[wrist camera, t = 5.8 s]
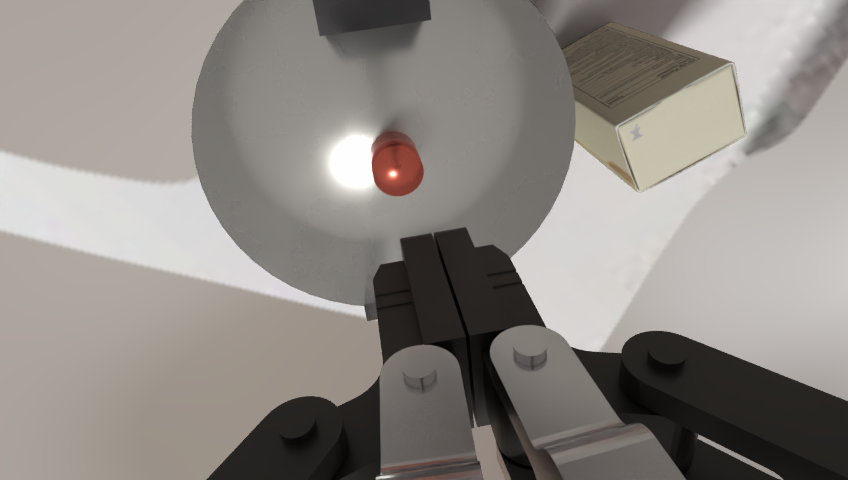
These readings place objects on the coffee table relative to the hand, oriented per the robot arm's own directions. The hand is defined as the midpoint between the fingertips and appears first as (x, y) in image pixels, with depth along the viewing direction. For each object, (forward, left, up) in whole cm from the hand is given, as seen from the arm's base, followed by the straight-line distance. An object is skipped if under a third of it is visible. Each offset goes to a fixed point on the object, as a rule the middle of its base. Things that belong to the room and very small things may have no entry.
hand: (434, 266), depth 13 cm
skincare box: (+4, +14, -26) cm, 29 cm away
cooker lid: (+2, 0, -13) cm, 13 cm away
